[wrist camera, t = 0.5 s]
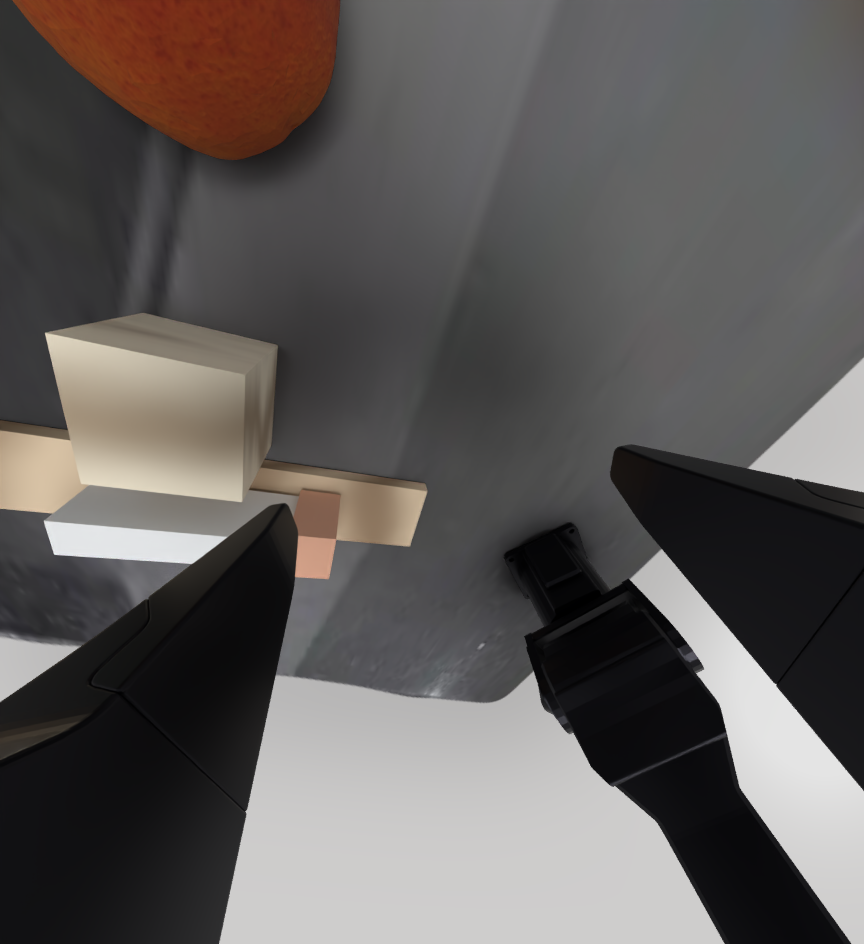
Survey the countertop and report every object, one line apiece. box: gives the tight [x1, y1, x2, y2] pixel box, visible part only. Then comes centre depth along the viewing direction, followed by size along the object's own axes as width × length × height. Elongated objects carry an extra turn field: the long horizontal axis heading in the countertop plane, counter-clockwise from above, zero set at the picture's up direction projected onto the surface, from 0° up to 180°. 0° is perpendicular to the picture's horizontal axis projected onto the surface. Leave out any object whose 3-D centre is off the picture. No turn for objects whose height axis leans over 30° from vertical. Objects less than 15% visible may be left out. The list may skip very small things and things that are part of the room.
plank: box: [0, 420, 427, 547], centre depth 20 cm, size 33×5×1 cm, turn 74°
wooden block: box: [45, 313, 278, 502], centre depth 16 cm, size 6×6×6 cm
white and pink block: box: [44, 485, 341, 579], centre depth 19 cm, size 12×3×4 cm, turn 74°
